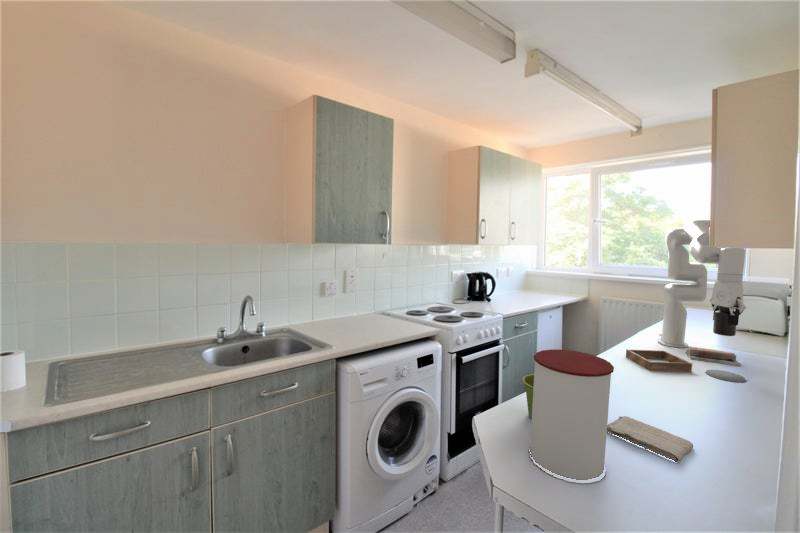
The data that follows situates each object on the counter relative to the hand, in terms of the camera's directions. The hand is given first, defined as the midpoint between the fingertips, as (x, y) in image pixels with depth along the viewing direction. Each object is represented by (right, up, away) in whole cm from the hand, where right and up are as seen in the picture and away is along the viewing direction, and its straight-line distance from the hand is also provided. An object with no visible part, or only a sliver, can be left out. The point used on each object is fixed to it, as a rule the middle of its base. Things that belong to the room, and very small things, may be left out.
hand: (725, 322), depth 147 cm
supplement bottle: (0, -5, 0) cm, 5 cm away
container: (-89, -25, -57) cm, 109 cm away
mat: (+1, -22, +1) cm, 22 cm away
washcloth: (-63, -25, -47) cm, 82 cm away
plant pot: (-87, -23, -36) cm, 97 cm away
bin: (-18, -20, +14) cm, 30 cm away
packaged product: (+13, -21, +22) cm, 33 cm away
